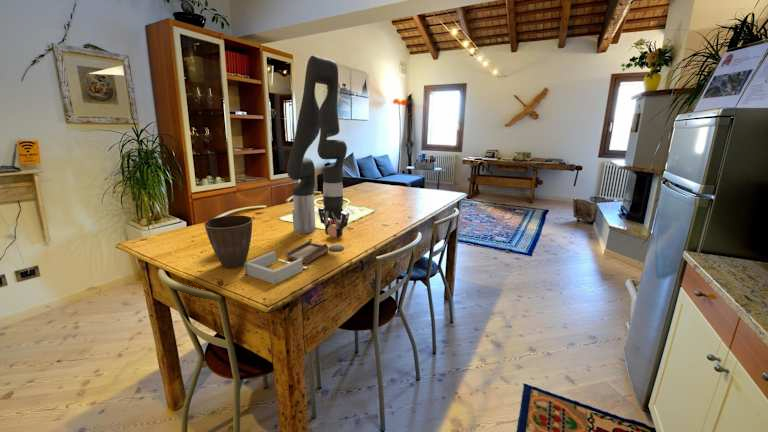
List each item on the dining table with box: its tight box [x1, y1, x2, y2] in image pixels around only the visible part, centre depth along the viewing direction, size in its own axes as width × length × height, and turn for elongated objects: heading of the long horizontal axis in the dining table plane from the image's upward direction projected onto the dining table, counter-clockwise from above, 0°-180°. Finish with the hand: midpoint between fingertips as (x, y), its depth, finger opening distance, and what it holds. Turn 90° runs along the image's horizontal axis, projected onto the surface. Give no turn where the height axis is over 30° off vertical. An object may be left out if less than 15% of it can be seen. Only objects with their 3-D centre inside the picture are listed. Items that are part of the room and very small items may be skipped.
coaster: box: [328, 244, 345, 253], centre depth 134 cm, size 6×6×1 cm
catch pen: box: [243, 251, 304, 285], centre depth 112 cm, size 14×12×4 cm
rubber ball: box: [327, 224, 337, 238], centre depth 132 cm, size 5×5×5 cm
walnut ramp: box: [285, 239, 329, 265], centre depth 126 cm, size 10×12×4 cm
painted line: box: [277, 258, 309, 270], centre depth 120 cm, size 14×1×1 cm, turn 59°
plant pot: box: [203, 214, 253, 269], centre depth 117 cm, size 15×15×16 cm
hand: (333, 235), depth 133 cm, fingers closed on rubber ball, 5 cm apart
